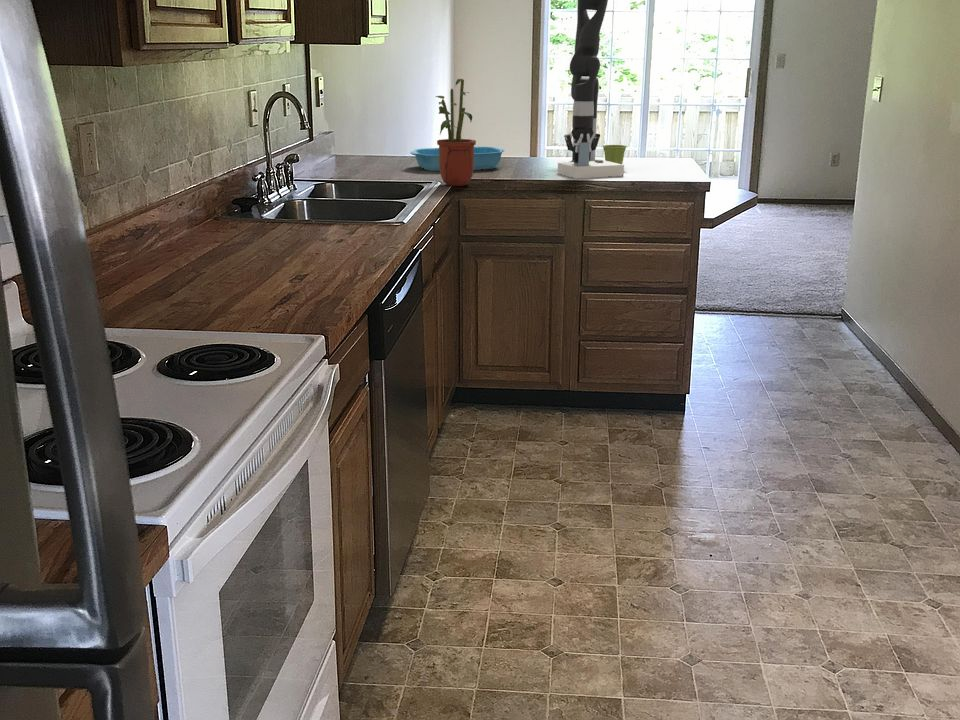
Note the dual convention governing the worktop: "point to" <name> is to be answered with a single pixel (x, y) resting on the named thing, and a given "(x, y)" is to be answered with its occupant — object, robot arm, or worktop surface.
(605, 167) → the outlet plate
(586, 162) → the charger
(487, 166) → the casserole dish
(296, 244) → the worktop surface
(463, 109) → the potted plant
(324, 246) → the worktop surface
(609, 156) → the plant pot
